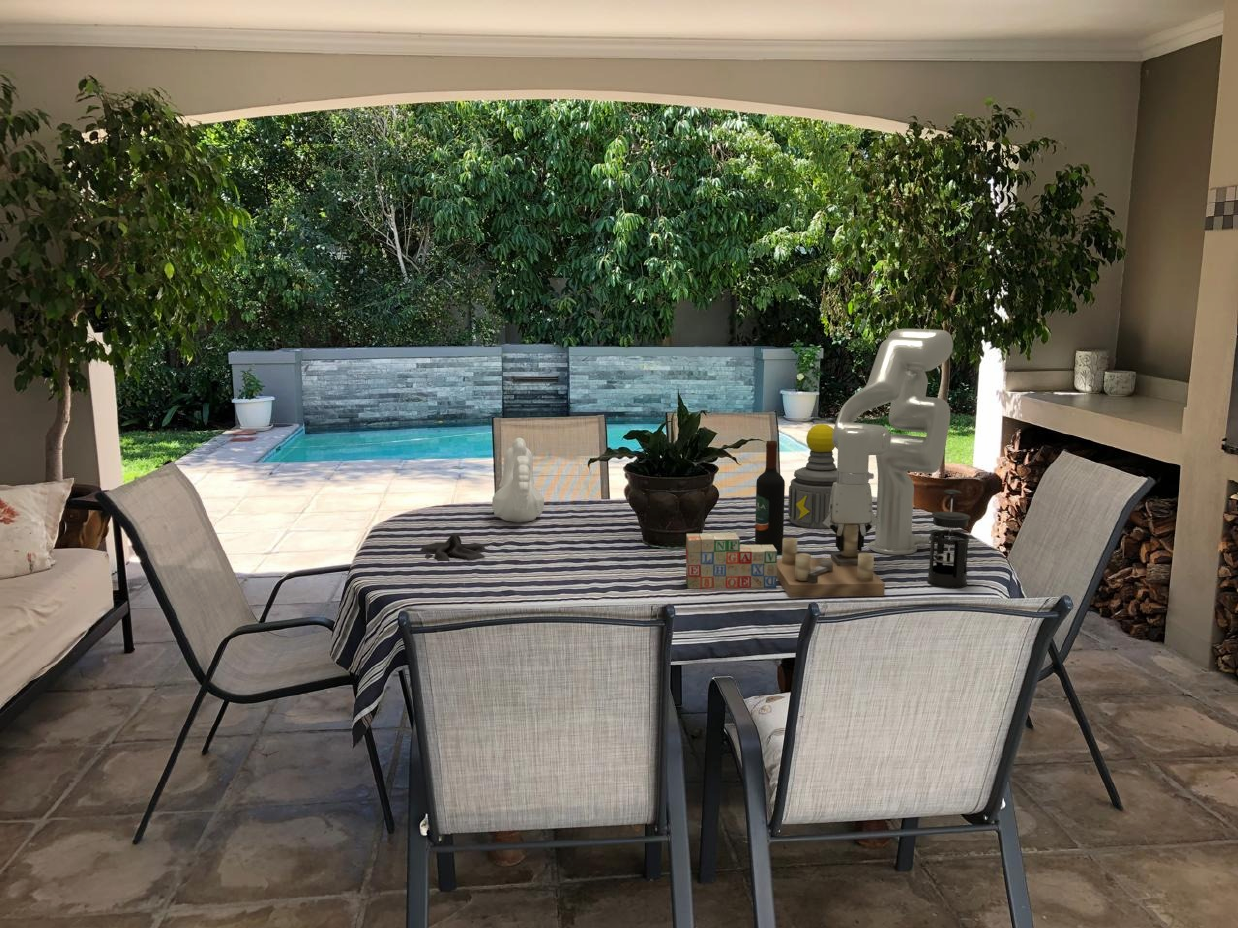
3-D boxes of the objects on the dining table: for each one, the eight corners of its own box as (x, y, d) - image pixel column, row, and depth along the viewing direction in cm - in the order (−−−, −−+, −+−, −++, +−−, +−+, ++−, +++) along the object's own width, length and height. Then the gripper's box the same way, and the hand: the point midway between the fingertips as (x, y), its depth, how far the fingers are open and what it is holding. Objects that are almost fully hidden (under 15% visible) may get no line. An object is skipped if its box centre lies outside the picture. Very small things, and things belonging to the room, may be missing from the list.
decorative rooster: (496, 512, 332) (494, 434, 328) (546, 512, 332) (545, 434, 327) (484, 531, 307) (482, 447, 303) (538, 532, 307) (537, 447, 303)
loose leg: (855, 552, 267) (856, 521, 265) (859, 556, 263) (860, 525, 261) (839, 552, 267) (840, 521, 265) (843, 556, 263) (844, 525, 261)
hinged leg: (823, 566, 260) (823, 544, 259) (836, 569, 257) (836, 546, 256) (791, 578, 249) (792, 555, 248) (804, 581, 247) (805, 558, 246)
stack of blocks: (772, 581, 260) (773, 532, 257) (776, 588, 254) (778, 538, 251) (685, 581, 259) (685, 532, 257) (687, 589, 253) (688, 539, 251)
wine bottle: (782, 555, 283) (785, 444, 277) (753, 553, 284) (756, 443, 279) (783, 547, 290) (786, 439, 284) (755, 546, 291) (758, 438, 286)
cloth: (419, 546, 293) (419, 525, 292) (487, 545, 295) (486, 523, 294) (414, 569, 271) (413, 545, 270) (487, 566, 274) (486, 543, 273)
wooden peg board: (859, 569, 269) (860, 534, 268) (884, 595, 247) (886, 558, 246) (771, 570, 268) (772, 535, 267) (789, 597, 246) (790, 559, 245)
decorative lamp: (862, 521, 320) (866, 423, 315) (830, 533, 306) (834, 430, 301) (808, 512, 332) (811, 417, 327) (775, 522, 319) (777, 424, 313)
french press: (919, 577, 262) (923, 486, 258) (954, 575, 264) (959, 485, 259) (941, 591, 251) (946, 496, 246) (977, 589, 252) (984, 495, 248)
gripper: (881, 475, 265) (878, 545, 269) (815, 475, 265) (812, 546, 268) (890, 480, 258) (886, 553, 261) (822, 481, 257) (819, 554, 260)
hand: (849, 549), depth 264 cm, fingers closed on loose leg, 4 cm apart
